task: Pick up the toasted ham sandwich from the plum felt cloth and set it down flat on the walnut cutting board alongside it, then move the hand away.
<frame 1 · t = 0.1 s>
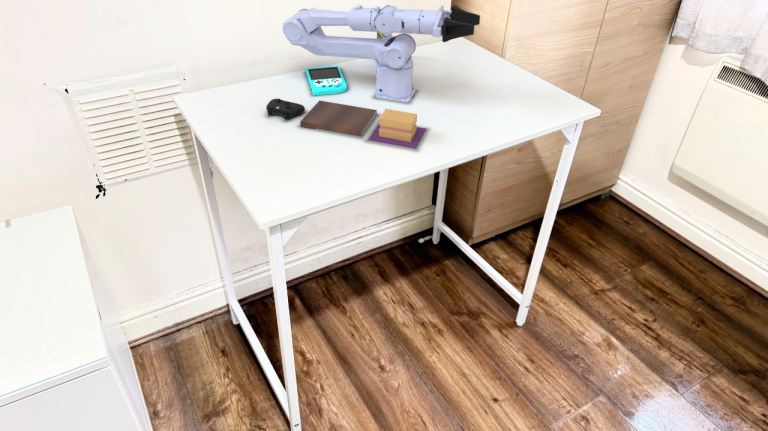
hand: (476, 24, 127), 22 cm above the table, tool horizontal, fingers open, 7 cm apart
felt cloth: (397, 135, 128), on the table
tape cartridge: (385, 62, 162), on the table
cutting board: (339, 120, 133), on the table
gaming controller: (284, 113, 136), on the table
sandwich: (397, 134, 128), resting on felt cloth
handheld game console: (326, 82, 151), on the table
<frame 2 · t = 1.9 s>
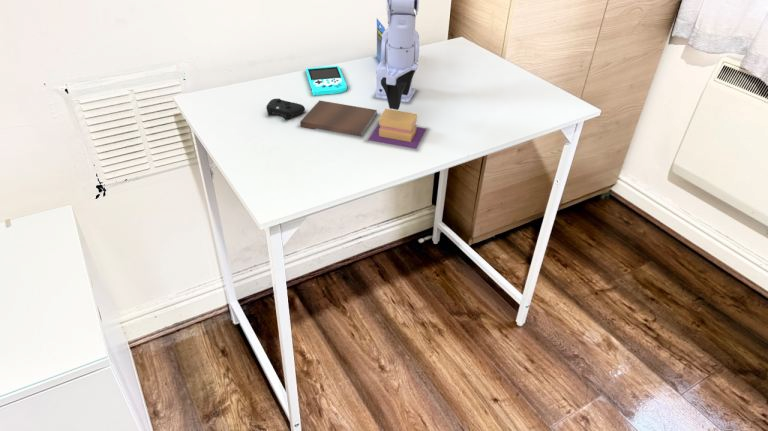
hand: (398, 101, 122), 9 cm above the table, tool pointing down, fingers open, 7 cm apart
nothing on the table moved.
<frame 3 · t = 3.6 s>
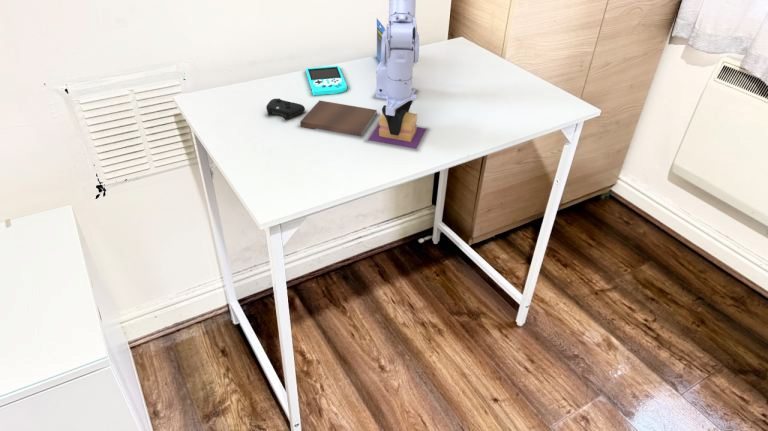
hand: (397, 128, 127), 2 cm above the table, tool pointing down, fingers closed on sandwich, 5 cm apart
sandwich: (397, 134, 128), resting on felt cloth, touching gripper
everything else where it was.
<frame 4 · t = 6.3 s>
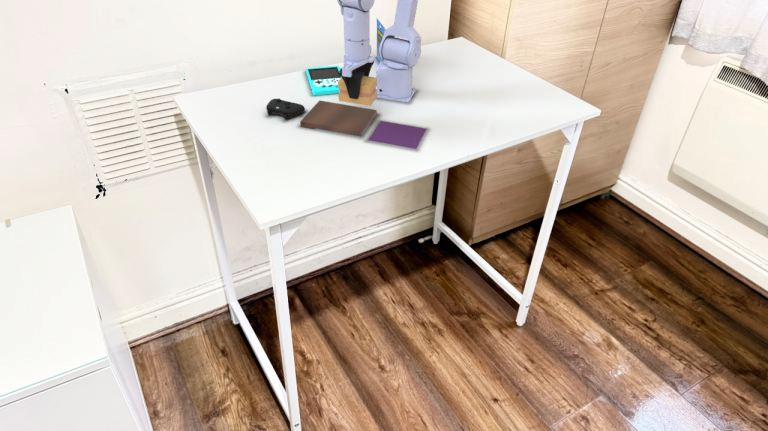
hand: (357, 93, 126), 9 cm above the table, tool pointing down, fingers closed on sandwich, 5 cm apart
sandwich: (358, 98, 127), point 7 cm above the table, touching gripper
everything else where it was.
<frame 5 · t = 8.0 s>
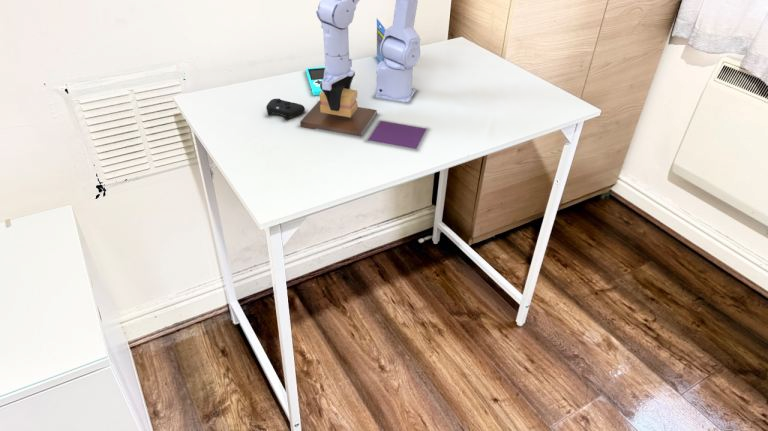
hand: (338, 105, 130), 4 cm above the table, tool pointing down, fingers closed on sandwich, 5 cm apart
sandwich: (339, 110, 131), point 3 cm above the table, touching gripper
everything else where it was.
when the fingers open (3 cm above the table, at t = 9.1 s): sandwich stays where it is, resting on cutting board.
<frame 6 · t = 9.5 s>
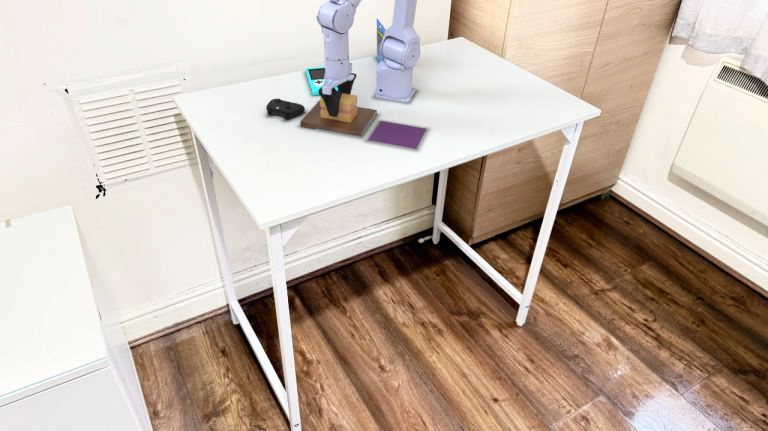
hand: (339, 108, 131), 3 cm above the table, tool pointing down, fingers open, 7 cm apart
sandwich: (339, 115, 132), point 1 cm above the table, touching cutting board
everything else where it was.
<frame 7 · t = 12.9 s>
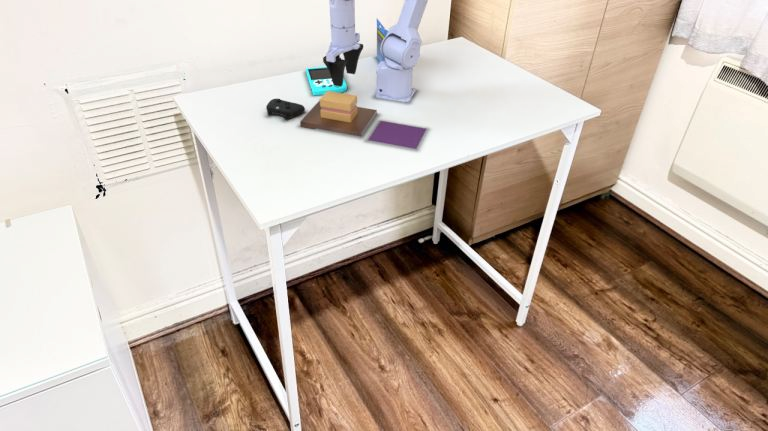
hand: (344, 79, 130), 9 cm above the table, tool pointing down, fingers open, 7 cm apart
nothing on the table moved.
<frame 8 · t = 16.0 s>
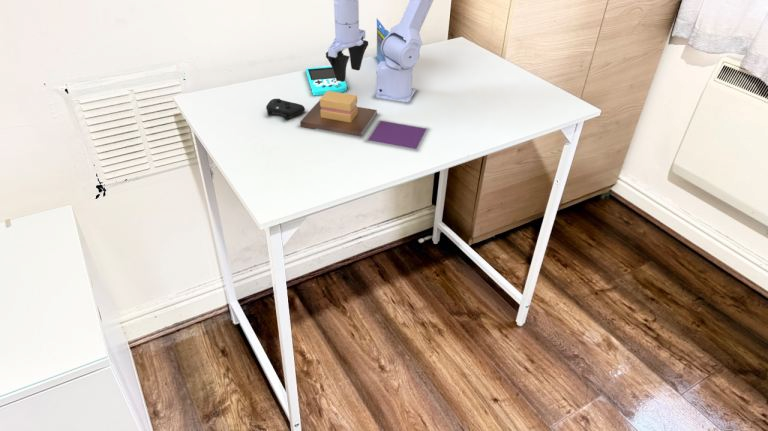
hand: (348, 74, 132), 9 cm above the table, tool pointing down, fingers open, 7 cm apart
nothing on the table moved.
at the end: sandwich inside the target area on the cutting board (0.0 cm from its centre), point 1.5 cm above the cutting board's base; sandwich tilted 0°; the gripper is holding nothing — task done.
